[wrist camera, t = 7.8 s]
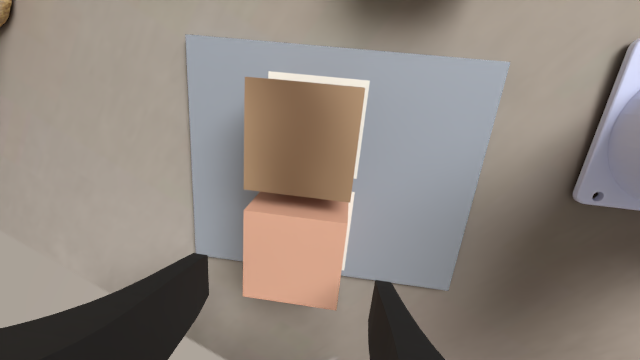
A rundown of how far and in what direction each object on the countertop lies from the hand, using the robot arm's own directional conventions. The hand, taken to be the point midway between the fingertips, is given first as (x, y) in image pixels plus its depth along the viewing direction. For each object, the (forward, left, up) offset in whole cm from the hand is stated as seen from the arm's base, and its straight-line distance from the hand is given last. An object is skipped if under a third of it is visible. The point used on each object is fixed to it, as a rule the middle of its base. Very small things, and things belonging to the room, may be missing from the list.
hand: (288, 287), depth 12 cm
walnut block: (0, -6, -6) cm, 8 cm away
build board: (-1, -3, -6) cm, 7 cm away
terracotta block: (0, 0, -6) cm, 6 cm away
